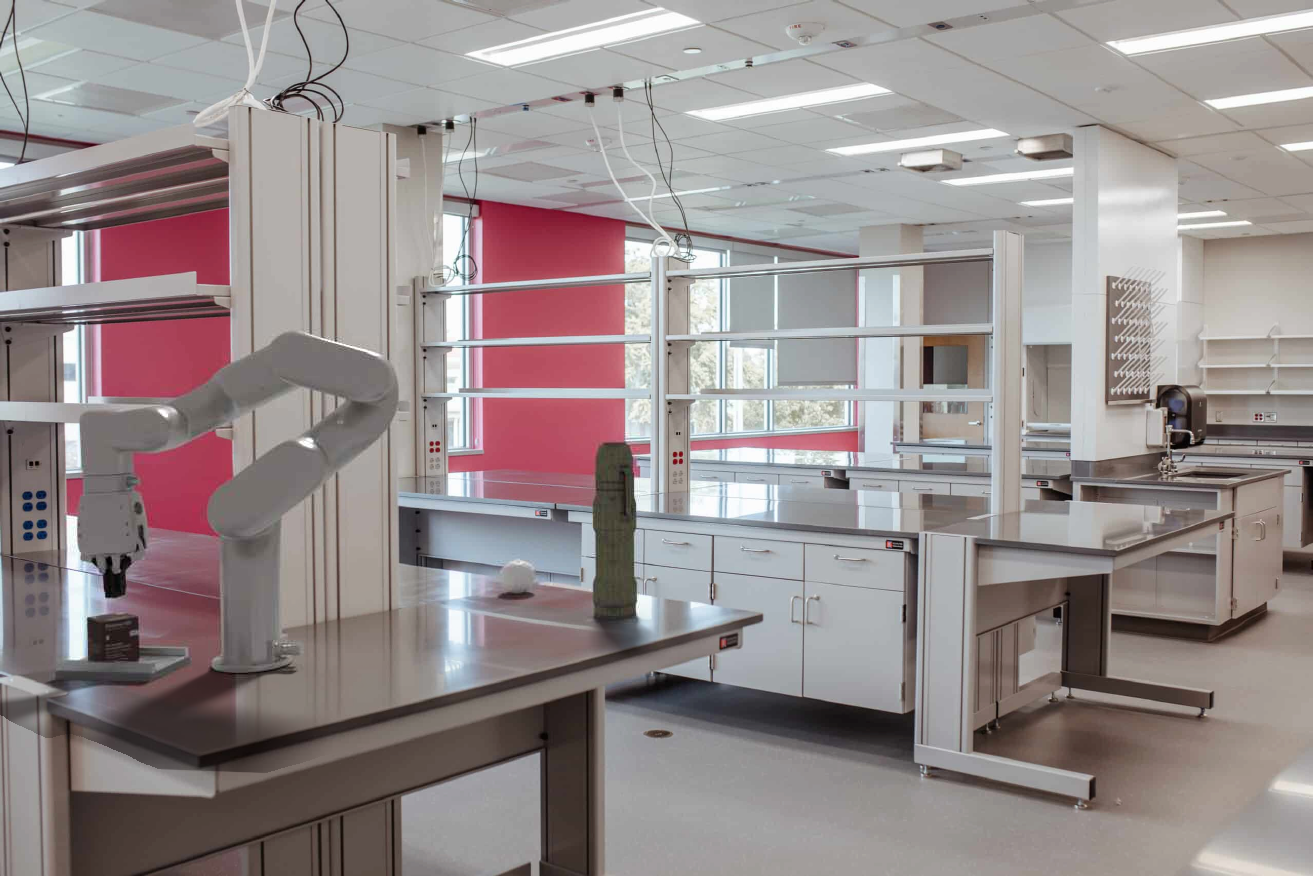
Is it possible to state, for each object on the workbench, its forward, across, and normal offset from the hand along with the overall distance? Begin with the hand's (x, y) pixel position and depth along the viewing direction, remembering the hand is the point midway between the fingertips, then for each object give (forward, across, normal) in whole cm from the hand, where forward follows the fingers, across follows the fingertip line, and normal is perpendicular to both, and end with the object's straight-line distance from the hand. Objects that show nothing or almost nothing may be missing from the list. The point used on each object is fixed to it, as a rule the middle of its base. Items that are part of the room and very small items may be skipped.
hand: (115, 596), depth 180 cm
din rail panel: (+12, -1, 0) cm, 12 cm away
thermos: (+15, -75, -51) cm, 92 cm away
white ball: (+14, -50, -72) cm, 89 cm away
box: (+11, +1, 0) cm, 11 cm away
